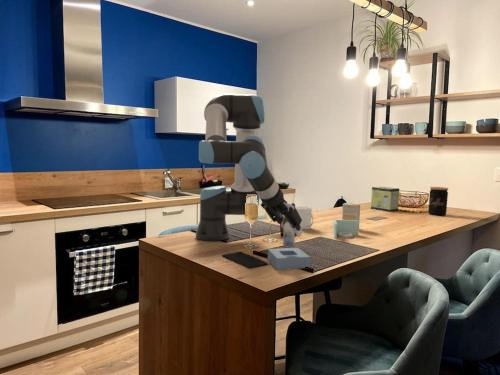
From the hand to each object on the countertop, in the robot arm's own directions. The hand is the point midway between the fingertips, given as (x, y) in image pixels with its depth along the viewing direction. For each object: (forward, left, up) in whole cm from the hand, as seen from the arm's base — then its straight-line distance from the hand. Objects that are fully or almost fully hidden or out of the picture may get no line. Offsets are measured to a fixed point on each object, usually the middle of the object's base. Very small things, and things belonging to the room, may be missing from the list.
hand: (294, 233), depth 141 cm
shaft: (-3, -2, -4) cm, 5 cm away
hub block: (-3, -2, -11) cm, 11 cm away
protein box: (+104, +106, -11) cm, 149 cm away
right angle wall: (+39, +35, -12) cm, 53 cm away
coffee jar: (+129, +84, -11) cm, 154 cm away
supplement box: (+50, +52, -11) cm, 73 cm away
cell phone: (-18, +5, -11) cm, 22 cm away
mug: (+25, +54, -11) cm, 61 cm away
